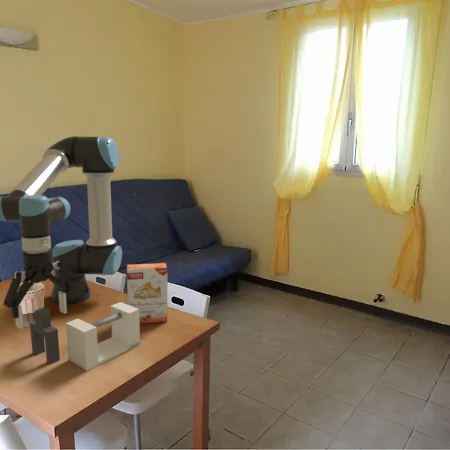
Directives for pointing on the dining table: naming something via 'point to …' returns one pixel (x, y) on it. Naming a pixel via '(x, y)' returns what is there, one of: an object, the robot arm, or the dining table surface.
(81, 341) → the cream rod holder
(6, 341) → the dining table surface
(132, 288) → the cracker box
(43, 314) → the grey zigzag block
